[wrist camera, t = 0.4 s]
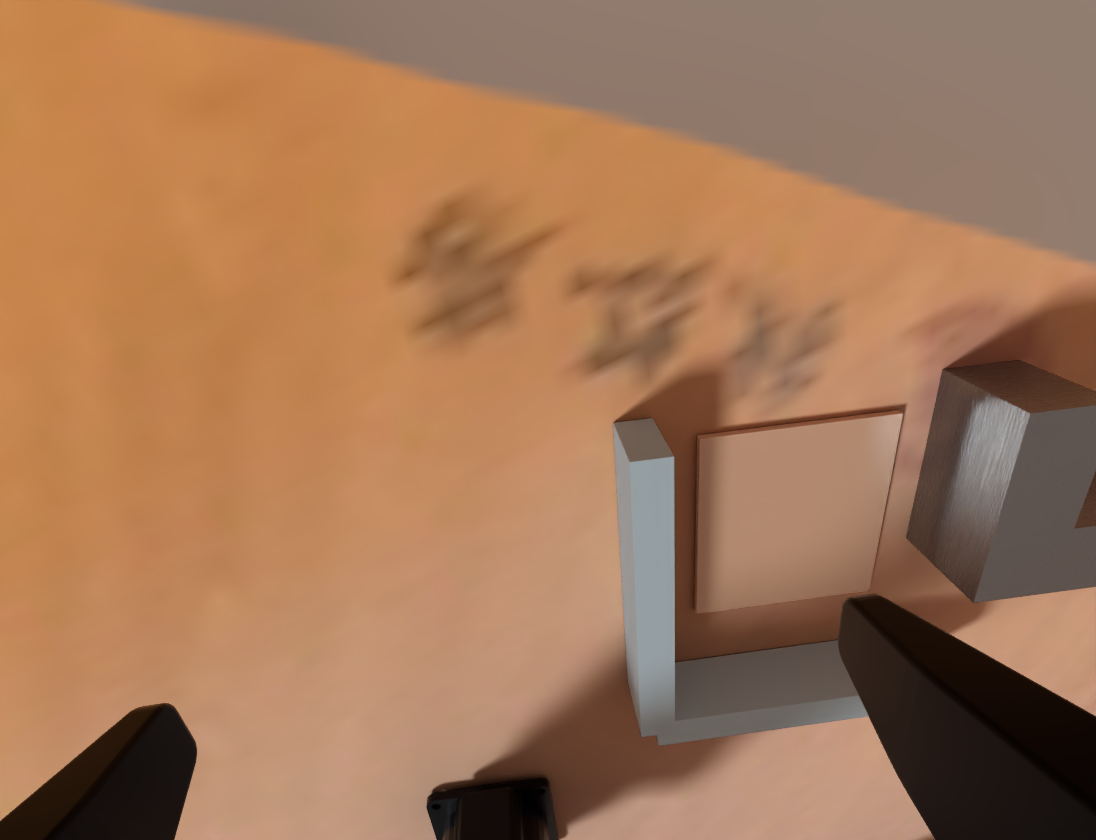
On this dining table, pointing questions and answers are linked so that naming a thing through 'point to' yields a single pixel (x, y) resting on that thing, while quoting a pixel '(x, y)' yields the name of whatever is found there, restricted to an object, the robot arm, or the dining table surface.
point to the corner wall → (649, 619)
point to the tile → (791, 510)
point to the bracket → (1009, 482)
